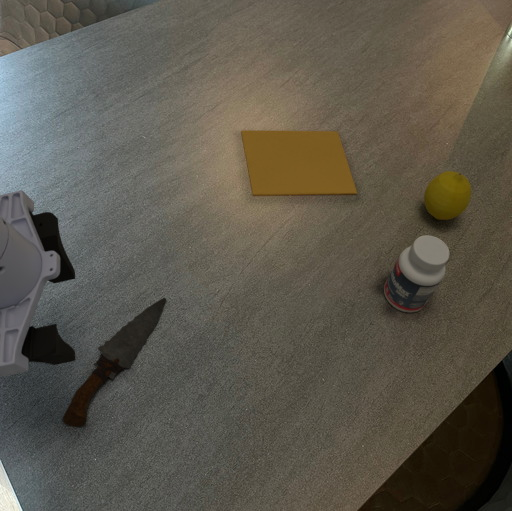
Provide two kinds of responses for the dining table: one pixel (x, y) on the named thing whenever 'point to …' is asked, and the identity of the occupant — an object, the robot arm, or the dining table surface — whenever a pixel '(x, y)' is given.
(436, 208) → the fruit
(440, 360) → the dining table surface
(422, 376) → the dining table surface
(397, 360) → the dining table surface
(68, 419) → the knife
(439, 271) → the pill bottle
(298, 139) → the cloth
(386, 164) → the dining table surface
